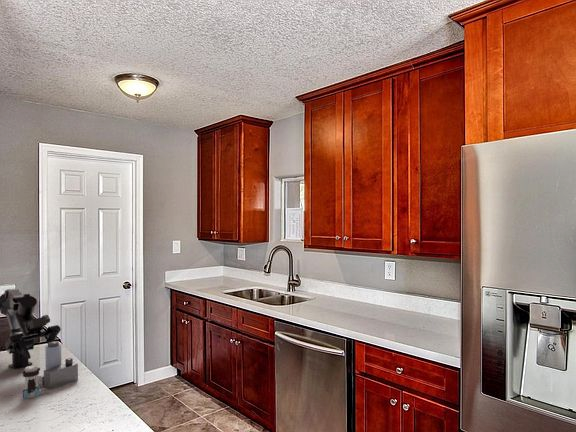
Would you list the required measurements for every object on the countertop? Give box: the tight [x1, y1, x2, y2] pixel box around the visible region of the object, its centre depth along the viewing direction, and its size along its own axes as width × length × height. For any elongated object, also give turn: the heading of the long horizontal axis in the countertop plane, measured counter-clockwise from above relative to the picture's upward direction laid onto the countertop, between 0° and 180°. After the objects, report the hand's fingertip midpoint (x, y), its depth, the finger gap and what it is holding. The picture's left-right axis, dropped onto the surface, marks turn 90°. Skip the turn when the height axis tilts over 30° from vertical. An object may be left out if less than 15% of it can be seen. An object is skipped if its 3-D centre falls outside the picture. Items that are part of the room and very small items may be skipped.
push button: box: [21, 364, 45, 400], centre depth 144 cm, size 7×5×10 cm
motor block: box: [37, 357, 79, 390], centre depth 156 cm, size 9×10×8 cm
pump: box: [44, 340, 63, 370], centre depth 158 cm, size 5×5×14 cm
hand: (42, 354), depth 162 cm, fingers open, 9 cm apart
